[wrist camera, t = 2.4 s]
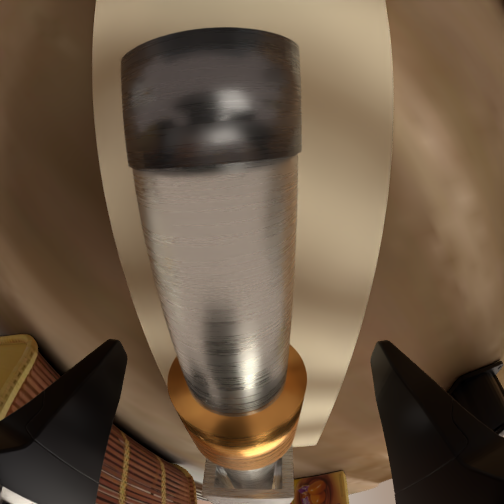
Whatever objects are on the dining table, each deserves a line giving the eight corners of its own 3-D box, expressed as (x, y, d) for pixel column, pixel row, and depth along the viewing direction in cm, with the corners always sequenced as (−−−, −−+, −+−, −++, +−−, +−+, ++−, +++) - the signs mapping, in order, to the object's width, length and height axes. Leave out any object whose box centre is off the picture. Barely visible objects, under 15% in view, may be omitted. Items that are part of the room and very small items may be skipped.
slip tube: (278, 470, 15) (278, 509, 12) (231, 469, 15) (228, 508, 12) (309, 71, 4) (373, 19, 1) (146, 83, 5) (33, 70, 2)
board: (314, 435, 19) (315, 445, 18) (199, 434, 19) (197, 444, 19) (355, -73, 3) (361, -83, 3) (119, -56, 4) (109, -64, 3)
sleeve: (280, 443, 18) (281, 513, 12) (231, 443, 18) (225, 512, 12) (289, 388, 14) (294, 497, 8) (216, 387, 14) (201, 494, 8)
